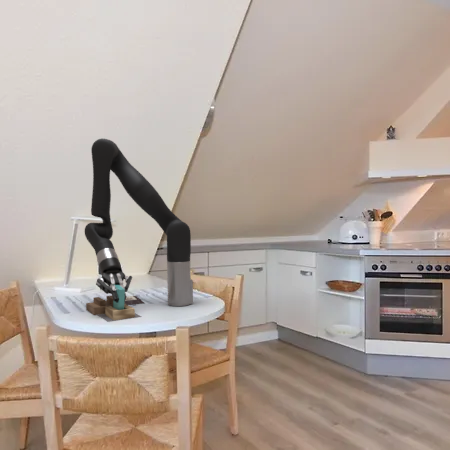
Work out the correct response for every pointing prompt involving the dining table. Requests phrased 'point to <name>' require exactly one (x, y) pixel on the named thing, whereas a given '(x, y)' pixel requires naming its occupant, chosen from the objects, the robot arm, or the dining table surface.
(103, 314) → the mat
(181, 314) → the dining table surface
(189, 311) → the dining table surface
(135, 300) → the chocolate bar
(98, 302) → the brown wooden stand
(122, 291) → the teal rectangular pillar
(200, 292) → the dining table surface
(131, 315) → the rack
